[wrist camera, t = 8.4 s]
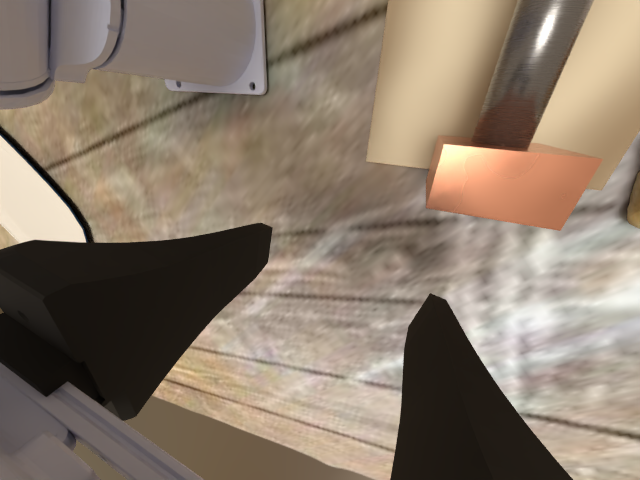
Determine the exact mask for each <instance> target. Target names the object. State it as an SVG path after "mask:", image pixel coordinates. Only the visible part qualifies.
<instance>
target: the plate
mask: <svg viewBox="0 0 640 480" xmlns="http://www.w3.org/2000/svg"><path fill="white" fill-rule="evenodd" d="M0 224H1V225H2V226H3V227H4V228H5V229H6V230H7V231H8V232H9V233H10V234H11V235H12V236H13V237H14V238H15V239H16V240H17V241H18V242H19V243H23V242H27V241H31V240H47V241H65V242H85V243H88V240H87V237H86V233H85V230H84V227H83V226H82V224H81V223H80V221H79V219H78V218H77V216H76V215H75V213H74V212H73V210H72V209H71V207H70V206H69V205H68V204H67V202H66V201H65V200H64V199H63V198H62V197H61V195H60V194H59V193H58V192H57V191H56V190H55V189H54V187H53V186H52V185H51V184H50V183H49V182H48V181H47V180H46V179H45V178H44V177H43V176H42V175H41V174H40V173H39V171H38V170H37V169H36V168H35V167H34V166H33V165H32V164H31V163H30V162H29V161H28V160H27V159H26V158H25V157H24V156H23V155H22V154H21V153H20V152H19V151H18V150H17V149H16V148H15V147H14V146H13V145H12V144H11V143H10V142H9V141H8V140H7V139H6V138H5V137H4V136H3V135H2V134H1V133H0Z"/></svg>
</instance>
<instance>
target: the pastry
mask: <svg viewBox="0 0 640 480" xmlns="http://www.w3.org/2000/svg"><path fill="white" fill-rule="evenodd" d="M627 211H628V213H627V220H628V222H629V223H630V224H631V225H633V226H635V227H637V228H640V170H639V172H638V174H637V177H636V180H635V183H634V186H633V190H632V193H631V195H630V204H629V206H628V208H627Z"/></svg>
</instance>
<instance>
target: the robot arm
mask: <svg viewBox="0 0 640 480" xmlns="http://www.w3.org/2000/svg"><path fill="white" fill-rule="evenodd" d="M91 69H96V70H103V71H110V72H118V73H125V74H132V75H139V76H146V77H154V78H161V79H164V80H165V84H166V87H167V88H168V89H169V90H171V91H184V92H206V93H228V94H250V95H264V94H265V93H266V91H267V73H266V51H265V28H264V6H263V0H0V109H16V108H24V107H29V106H32V105H36V104H39V103H41V102H42V101H44V100H46V99H47V98H48V97H49V96H50V95H51V94H52V92H53V90H54V87H55V80H56V81H66V82H77V83H85V80H86V76H87V73H88V72H89V70H91ZM180 82H181V85H180ZM253 83H255V86H256V87H255V90H254V89H253ZM271 235H272V227H270V226H268V225H265V224H263V223H256V224H251V225H246V226H242V227H238V228H233V229H229V230H224V231H220V232H215V233H210V234H204V235H199V236H194V237H188V238H180V239H172V240H163V241H148V242H130V243H85V242H65V241H47V240H31V241H27V242H23V243H20V244H17V245H14V246H10V247H7V248H4V249H1V250H0V308H1V309H2V311H3V312H4V313H2V314H0V480H100V478H99V477H98V476H97V475H96V474H95V472H94V470H93V469H92V468H91V467H89V466H88V465H87V464H86V463H85V462H84V461H83V460H81V459H80V458H79V457H78V456H77V455H75V453H74V452H73V450H74V448H75V446H76V440H78V441H79V442H80V443H82V444H83V445H84V446H85V447H87V448H88V449H89V450H91V451H92V452H93V453H94V454H96V455H97V456H98V457H99V458H101V459H102V460H103V461H104V462H106V463H107V464H108V465H110V466H111V467H112V468H113V469H115V470H116V471H117V472H118V473H120V474H121V475H122V476H124V477H125V478H126V479H127V480H204V479H203V478H201V477H200V476H198V475H197V474H196V473H194V472H193V471H191V470H190V469H189V468H187V467H186V466H184V465H183V464H182V463H180V462H179V461H177V460H176V459H175V458H173V457H172V456H171V455H169V454H168V453H166V452H165V451H163V450H162V449H161V448H160V447H158V446H157V445H155V444H154V443H152V442H151V441H150V440H148V439H147V438H145V437H144V436H143V435H141V434H140V433H138V432H137V431H136V430H135V429H133V428H132V427H130V426H129V425H127V424H126V423H125V422H123V421H124V420H128V419H131V418H133V417H135V416H137V414H138V413H139V412H140V410H141V409H142V407H143V406H144V405H145V403H146V402H147V400H148V399H149V398H150V396H151V395H152V394H153V392H154V391H155V390H156V388H157V387H158V386H159V384H160V383H161V381H162V380H163V379H164V378H165V376H166V375H167V374H168V372H169V371H170V370H171V369H172V367H173V366H174V365H175V363H176V362H177V361H178V360H179V358H180V357H181V356H182V355H183V353H184V352H185V351H186V350H187V349H188V347H189V346H190V345H191V344H192V342H193V341H194V340H195V339H196V338H197V336H198V335H199V334H200V333H201V332H202V331H203V330H204V328H205V327H206V326H207V325H208V324H209V323H210V322H211V320H212V319H213V318H214V317H215V316H216V315H217V314H218V313H219V312H220V311H221V310H222V309H223V308H224V307H225V306H226V305H227V304H228V303H230V302H231V301H232V300H233V299H234V298H235V297H236V296H237V295H238V294H239V293H240V292H241V291H242V290H243V289H244V288H246V287H247V286H248V285H249V284H250V283H251V282H252V281H253V280H254V279H255V278H256V277H257V275H258V274H259V273H260V272H261V271H262V269H263V268H264V267H265V265H266V264H267V263H268V258H269V250H270V243H271ZM390 480H573V479H572V478H571V477H570V476H569V474H568V473H567V472H566V471H565V470H564V469H563V468H562V466H561V465H560V464H559V463H558V462H557V461H556V460H555V458H554V457H553V456H552V455H551V453H550V452H549V451H548V450H547V449H546V447H545V446H544V445H543V444H542V443H541V441H540V440H539V439H538V438H537V437H536V435H535V434H534V433H533V432H532V431H531V429H530V428H529V427H528V425H527V424H526V423H525V422H524V420H523V419H522V418H521V417H520V415H519V414H518V413H517V411H516V410H515V409H514V407H513V406H512V404H511V403H510V402H509V400H508V399H507V398H506V396H505V395H504V394H503V392H502V391H501V390H500V388H499V387H498V385H497V384H496V382H495V381H494V379H493V378H492V376H491V375H490V373H489V372H488V370H487V369H486V367H485V366H484V364H483V363H482V361H481V360H480V358H479V356H478V355H477V353H476V351H475V350H474V348H473V347H472V345H471V343H470V341H469V340H468V338H467V336H466V335H465V333H464V331H463V329H462V327H461V326H460V324H459V322H458V320H457V318H456V317H455V315H454V313H453V311H452V309H451V308H450V306H449V304H448V303H447V301H446V300H445V299H443V298H440V297H438V296H435V295H433V294H431V293H430V294H429V296H428V297H427V299H426V300H425V302H424V304H423V305H422V307H421V308H420V310H419V311H418V313H417V314H416V316H415V317H414V319H413V320H412V322H411V324H410V325H409V327H408V332H407V337H406V342H405V348H404V363H403V383H402V403H401V415H400V424H399V430H398V437H397V444H396V450H395V456H394V462H393V468H392V474H391V479H390Z"/></svg>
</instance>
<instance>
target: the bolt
mask: <svg viewBox="0 0 640 480" xmlns="http://www.w3.org/2000/svg"><path fill="white" fill-rule="evenodd" d="M593 2H594V0H518V1H517V4H516V7H515V10H514V13H513V16H512V19H511V22H510V25H509V28H508V31H507V34H506V38H505V41H504V44H503V47H502V50H501V53H500V56H499V59H498V62H497V65H496V68H495V71H494V74H493V77H492V80H491V83H490V86H489V89H488V92H487V95H486V98H485V101H484V104H483V107H482V110H481V113H480V116H479V119H478V122H477V125H476V128H475V131H474V134H473V137H472V138H467V137H455V136H443V135H438V138H437V142H436V146H435V149H434V153H433V157H432V161H431V164H430V168H429V172H428V175H427V179H426V208H429V209H435V210H441V211H447V212H453V213H458V214H464V215H470V216H476V217H482V218H488V219H494V220H500V221H506V222H512V223H518V224H523V225H529V226H535V227H541V228H547V229H553V230H559V231H561V229H562V227H563V226H564V224H565V222H566V221H567V219H568V217H569V216H570V214H571V212H572V211H573V209H574V207H575V206H576V204H577V202H578V201H579V199H580V197H581V196H582V194H583V192H584V191H585V189H586V187H587V186H588V184H589V182H590V181H591V179H592V177H593V176H594V174H595V172H596V171H597V169H598V167H599V166H600V164H601V162H602V161H603V159H601V158H597V157H593V156H589V155H585V154H581V153H577V152H573V151H569V150H565V149H560V148H556V147H552V146H548V145H544V144H540V143H531V141H532V139H533V137H534V134H535V132H536V130H537V128H538V125H539V123H540V121H541V119H542V116H543V114H544V112H545V110H546V107H547V105H548V103H549V101H550V98H551V96H552V94H553V92H554V89H555V87H556V85H557V83H558V80H559V78H560V76H561V74H562V71H563V69H564V67H565V65H566V62H567V60H568V58H569V56H570V53H571V51H572V49H573V47H574V44H575V42H576V40H577V38H578V35H579V33H580V31H581V29H582V26H583V24H584V22H585V20H586V18H587V15H588V13H589V11H590V9H591V6H592V4H593Z"/></svg>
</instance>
